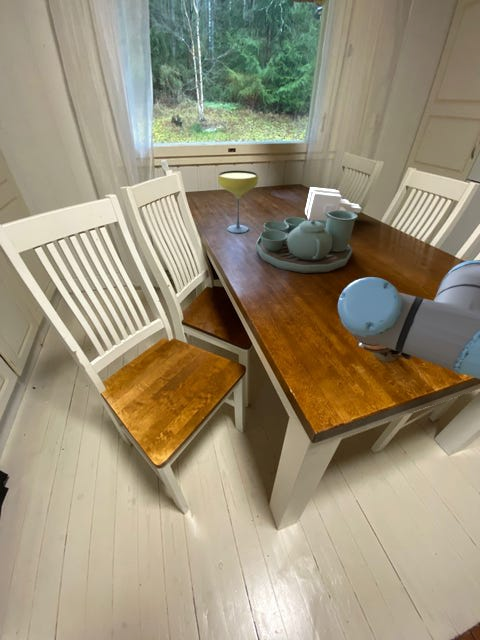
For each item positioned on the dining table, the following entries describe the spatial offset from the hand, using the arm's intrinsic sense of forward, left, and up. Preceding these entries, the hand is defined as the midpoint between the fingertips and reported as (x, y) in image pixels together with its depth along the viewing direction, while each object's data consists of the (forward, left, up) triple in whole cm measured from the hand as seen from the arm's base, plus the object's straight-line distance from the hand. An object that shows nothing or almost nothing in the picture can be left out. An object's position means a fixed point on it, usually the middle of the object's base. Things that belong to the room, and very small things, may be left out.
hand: (383, 349), depth 66 cm
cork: (0, -3, -4) cm, 5 cm away
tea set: (+52, -37, -4) cm, 64 cm away
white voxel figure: (+67, -85, -4) cm, 109 cm away
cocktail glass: (+90, -35, -4) cm, 96 cm away
